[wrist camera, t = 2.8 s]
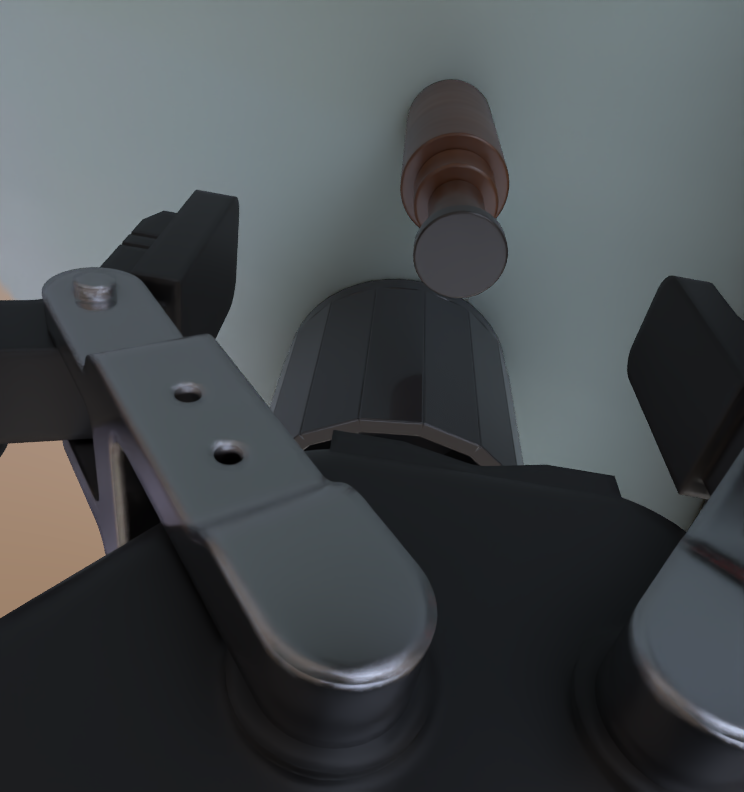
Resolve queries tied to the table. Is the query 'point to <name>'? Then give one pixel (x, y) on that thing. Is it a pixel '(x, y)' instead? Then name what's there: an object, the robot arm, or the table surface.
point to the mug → (400, 374)
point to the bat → (455, 189)
